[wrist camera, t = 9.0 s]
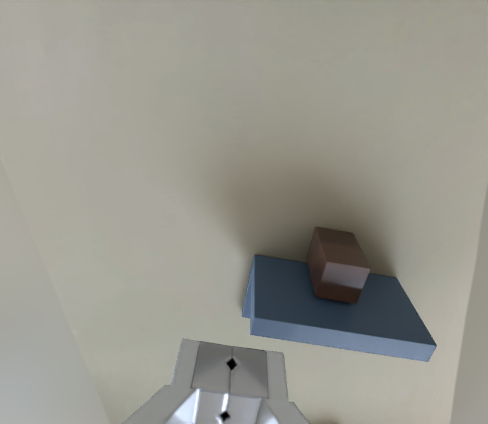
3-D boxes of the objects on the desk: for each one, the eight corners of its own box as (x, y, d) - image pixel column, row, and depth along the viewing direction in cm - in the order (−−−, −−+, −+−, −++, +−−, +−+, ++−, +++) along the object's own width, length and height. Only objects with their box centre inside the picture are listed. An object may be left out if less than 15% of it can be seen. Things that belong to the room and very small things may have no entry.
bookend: (254, 254, 40) (254, 317, 31) (396, 277, 41) (437, 345, 32) (241, 311, 43) (238, 383, 34) (373, 331, 44) (404, 407, 35)
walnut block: (308, 234, 41) (330, 212, 34) (343, 240, 41) (372, 219, 34) (302, 301, 38) (324, 293, 31) (339, 307, 39) (370, 300, 32)
